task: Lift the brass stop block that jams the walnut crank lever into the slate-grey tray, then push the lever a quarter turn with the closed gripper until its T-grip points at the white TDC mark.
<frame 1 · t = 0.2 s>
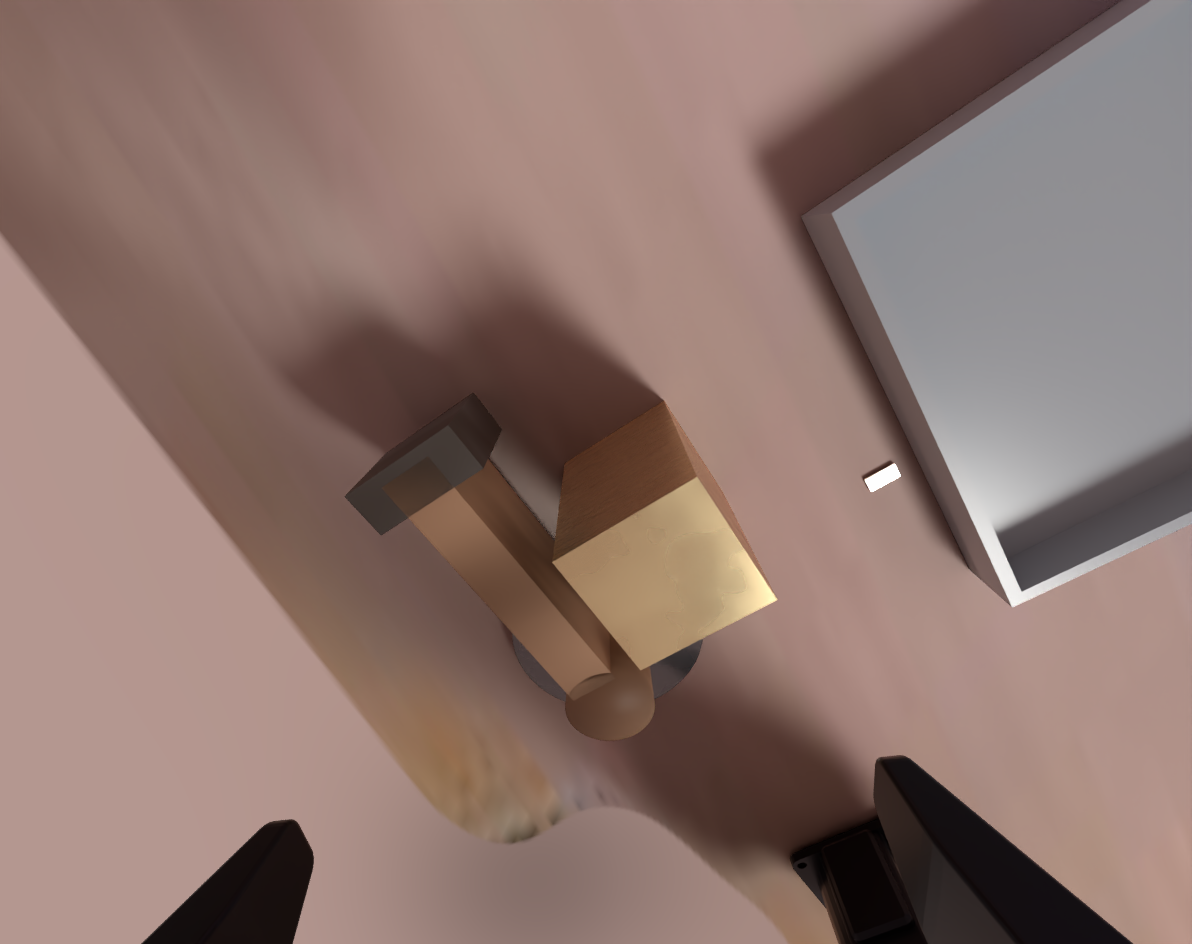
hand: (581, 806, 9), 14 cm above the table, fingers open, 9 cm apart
stop block: (644, 477, 21), on the table
crank lever: (533, 582, 20), point 3 cm above the table, hinge at 0.0°
stop tray: (1076, 313, 19), on the table
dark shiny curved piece: (607, 626, 24), on the table
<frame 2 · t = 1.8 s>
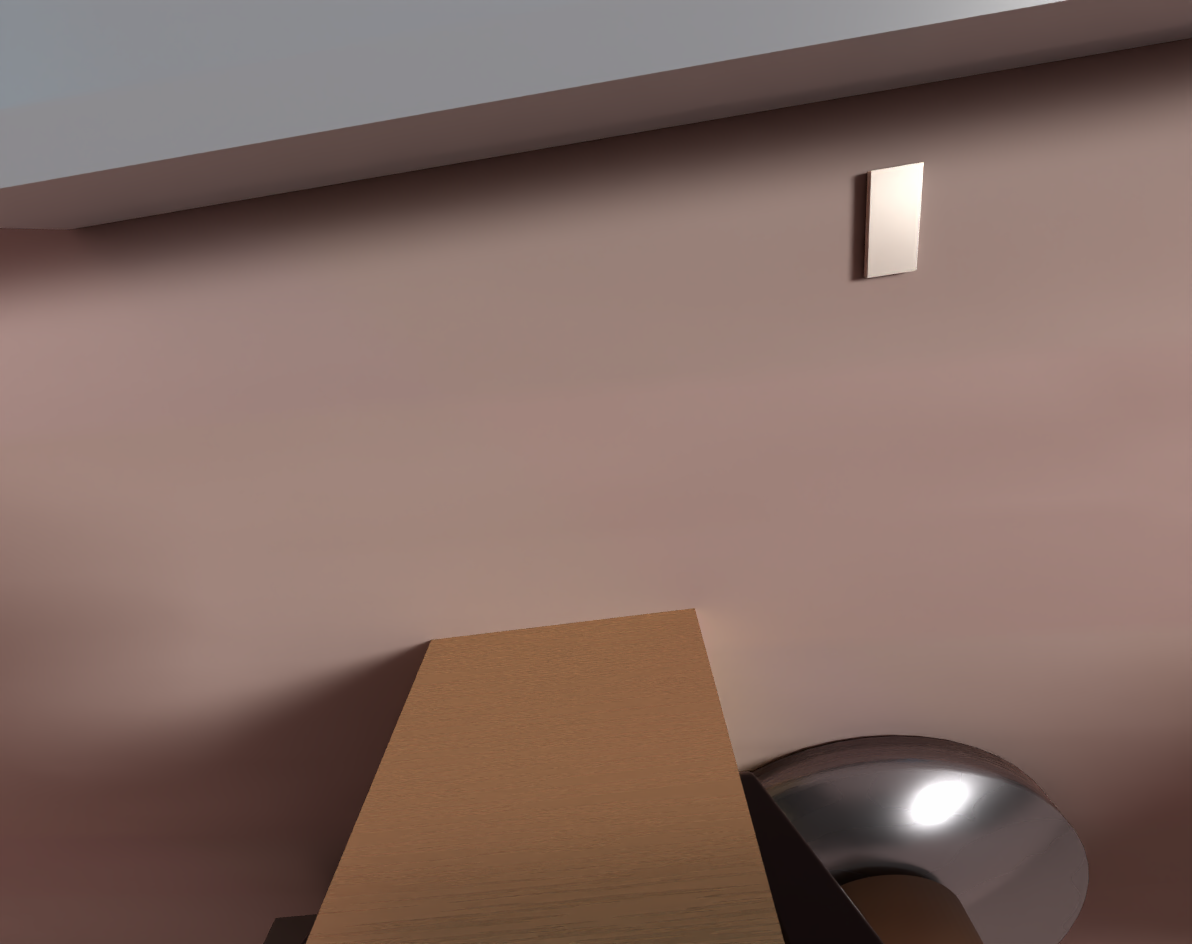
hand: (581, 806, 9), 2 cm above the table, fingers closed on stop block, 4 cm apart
stop block: (581, 723, 10), on the table, touching gripper
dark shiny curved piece: (858, 879, 12), on the table
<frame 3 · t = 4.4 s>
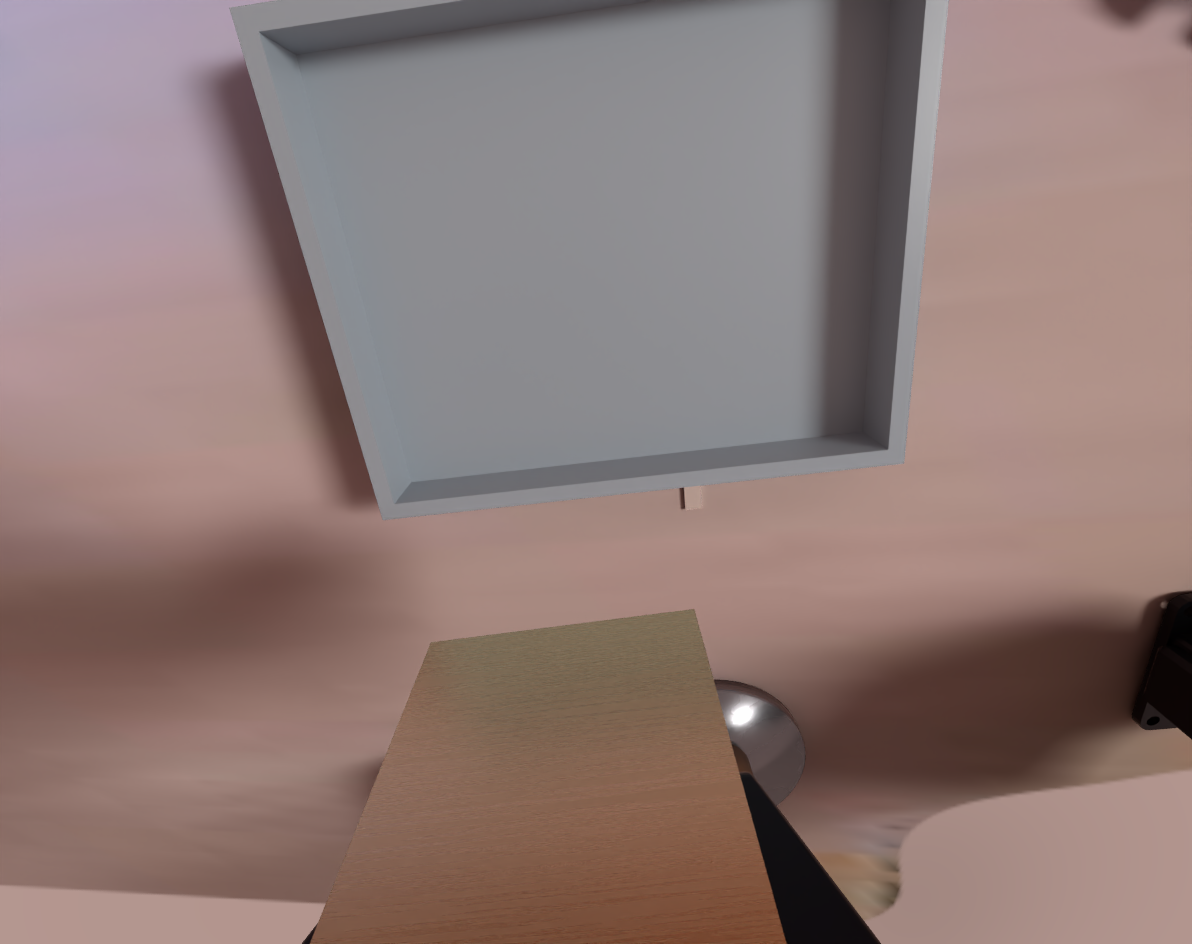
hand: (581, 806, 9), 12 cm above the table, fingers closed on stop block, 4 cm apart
stop block: (582, 724, 10), point 10 cm above the table, touching gripper
crank lever: (597, 818, 22), point 3 cm above the table, hinge at 0.0°
stop tray: (612, 264, 17), on the table
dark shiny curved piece: (708, 751, 25), on the table
when the fingers open (4 cm above the table, at t = 6.8 s): stop block drops 1 cm, resting on stop tray.
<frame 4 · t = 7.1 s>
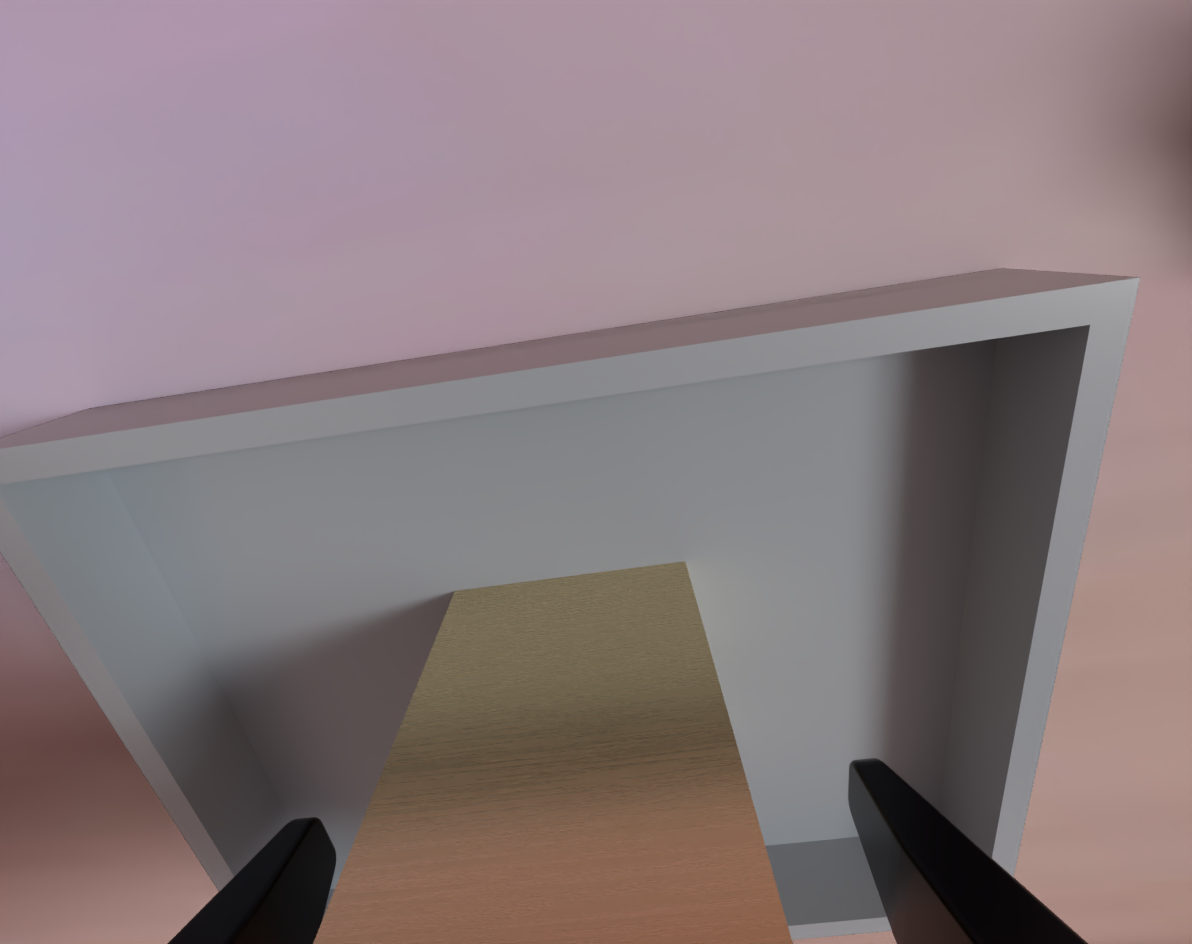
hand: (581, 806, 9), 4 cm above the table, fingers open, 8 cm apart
stop block: (586, 667, 11), point 1 cm above the table, touching stop tray
stop tray: (584, 642, 12), on the table
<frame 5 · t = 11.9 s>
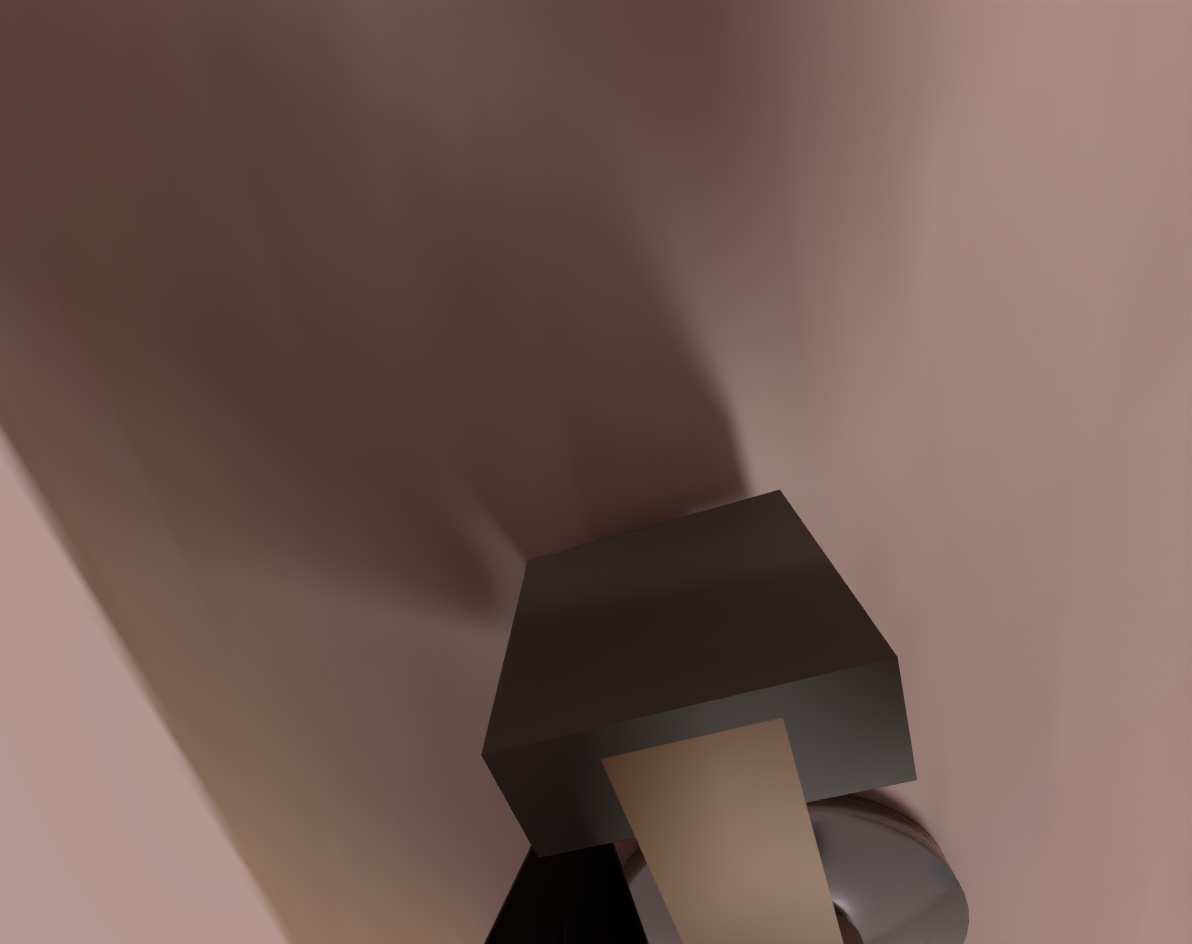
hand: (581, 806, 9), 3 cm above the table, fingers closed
crank lever: (768, 910, 9), point 3 cm above the table, hinge at -1.2°, touching gripper
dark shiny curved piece: (779, 907, 13), on the table
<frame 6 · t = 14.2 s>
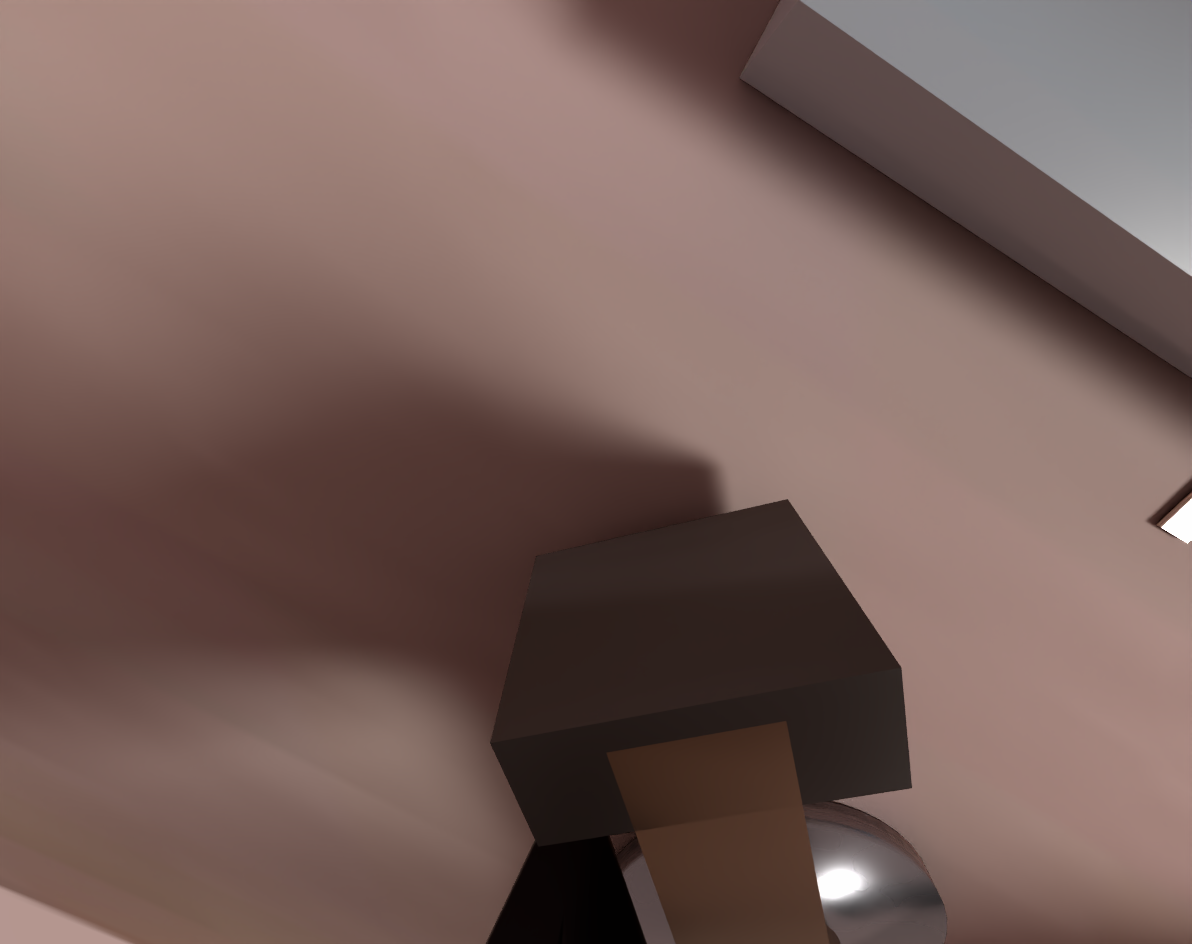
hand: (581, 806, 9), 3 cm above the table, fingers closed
crank lever: (753, 911, 9), point 3 cm above the table, hinge at -46.4°, touching gripper
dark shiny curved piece: (760, 910, 14), on the table
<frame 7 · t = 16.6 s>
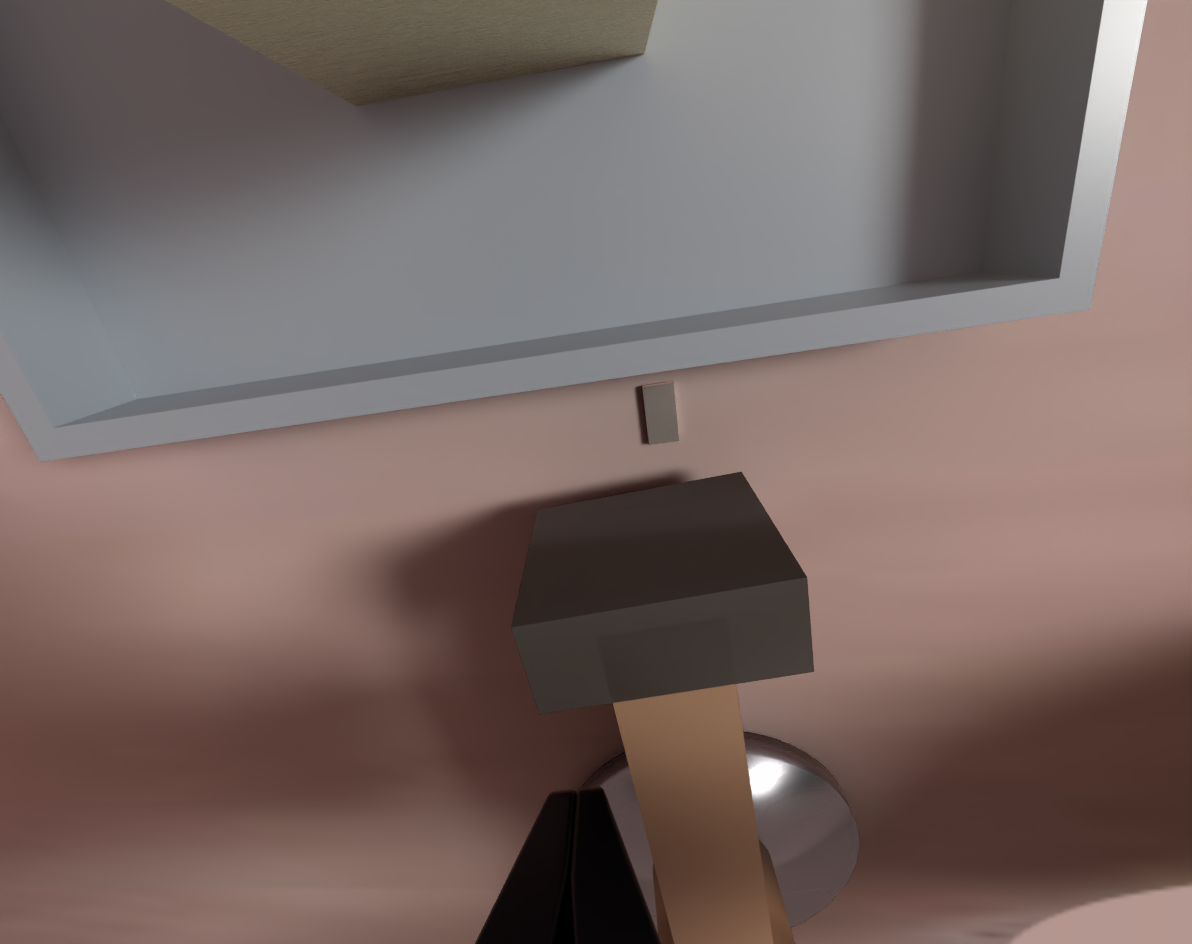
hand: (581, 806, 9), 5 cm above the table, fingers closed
crank lever: (698, 807, 12), point 3 cm above the table, hinge at -86.7°
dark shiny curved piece: (705, 834, 16), on the table
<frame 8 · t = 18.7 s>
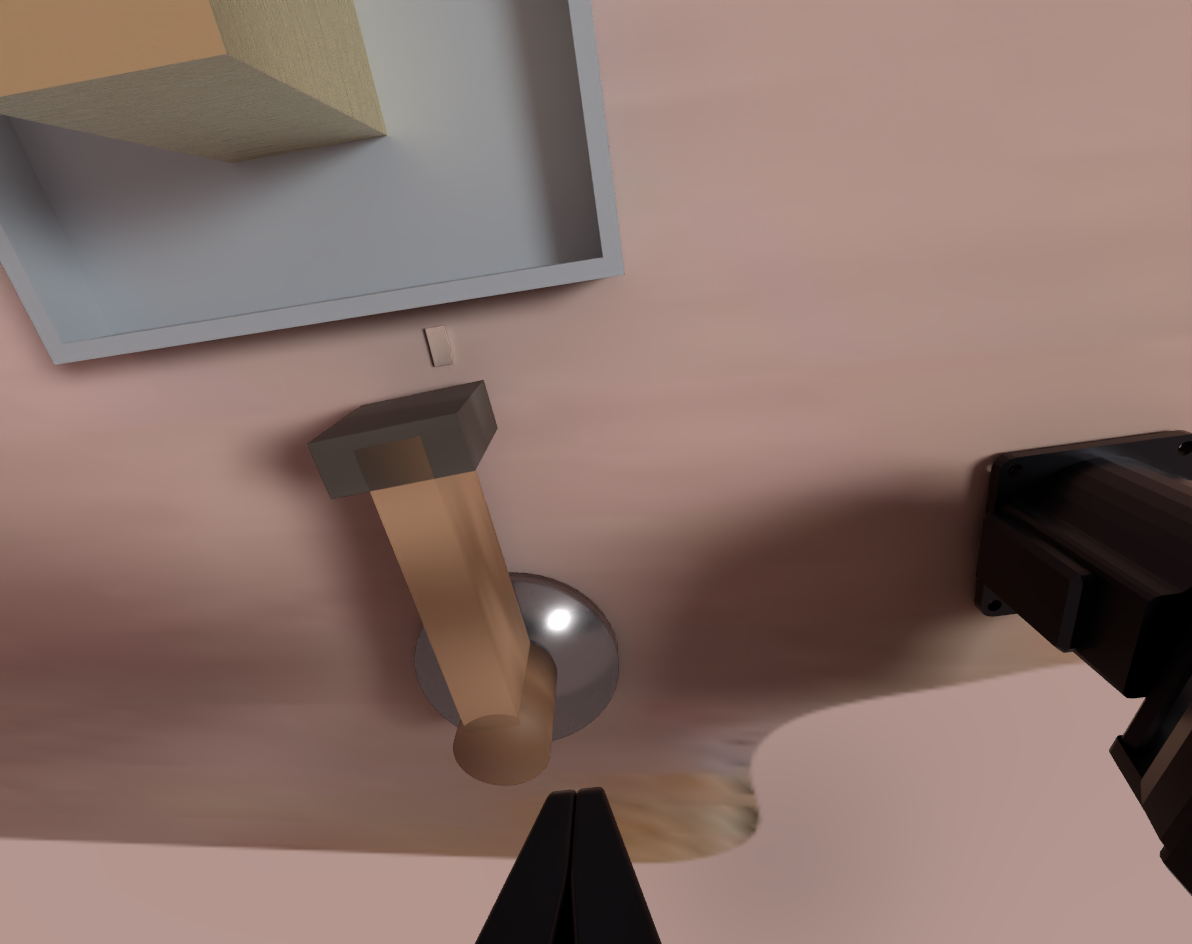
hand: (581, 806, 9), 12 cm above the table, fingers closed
stop block: (278, 51, 14), point 1 cm above the table, touching stop tray
crank lever: (470, 597, 18), point 3 cm above the table, hinge at -86.7°
stop tray: (292, 61, 15), on the table
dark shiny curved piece: (519, 657, 23), on the table
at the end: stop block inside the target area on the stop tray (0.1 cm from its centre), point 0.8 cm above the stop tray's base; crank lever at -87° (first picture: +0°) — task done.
